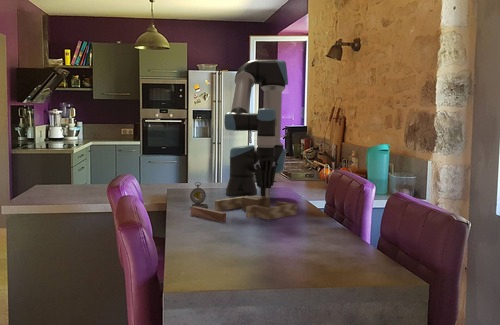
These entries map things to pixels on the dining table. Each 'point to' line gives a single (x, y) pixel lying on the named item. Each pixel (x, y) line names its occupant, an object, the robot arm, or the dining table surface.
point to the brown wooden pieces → (251, 211)
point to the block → (255, 201)
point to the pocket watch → (198, 196)
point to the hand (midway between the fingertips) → (264, 203)
